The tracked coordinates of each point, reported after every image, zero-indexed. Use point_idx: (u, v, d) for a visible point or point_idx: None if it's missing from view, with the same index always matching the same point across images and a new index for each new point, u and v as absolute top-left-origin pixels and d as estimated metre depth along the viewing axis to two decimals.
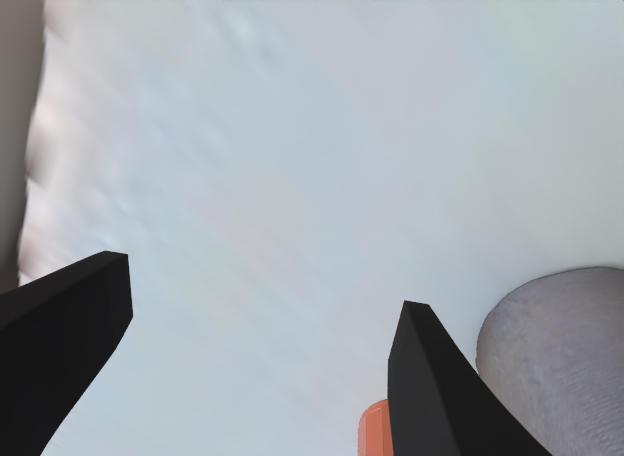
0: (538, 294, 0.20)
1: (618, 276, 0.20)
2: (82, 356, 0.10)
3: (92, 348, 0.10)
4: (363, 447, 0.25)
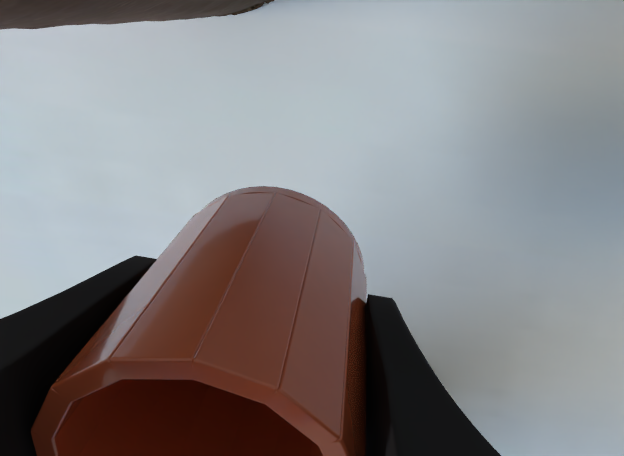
0: None
1: None
2: None
3: None
4: None
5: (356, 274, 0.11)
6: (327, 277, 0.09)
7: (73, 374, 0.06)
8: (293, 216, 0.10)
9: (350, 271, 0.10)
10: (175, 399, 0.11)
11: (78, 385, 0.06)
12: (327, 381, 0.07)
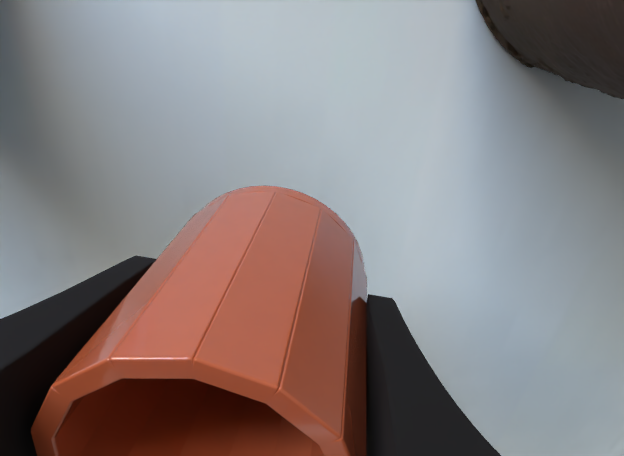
0: None
1: None
2: None
3: None
4: None
5: (356, 273, 0.11)
6: (327, 277, 0.09)
7: (73, 373, 0.06)
8: (293, 215, 0.10)
9: (350, 270, 0.10)
10: (175, 399, 0.11)
11: (78, 384, 0.06)
12: (328, 380, 0.07)
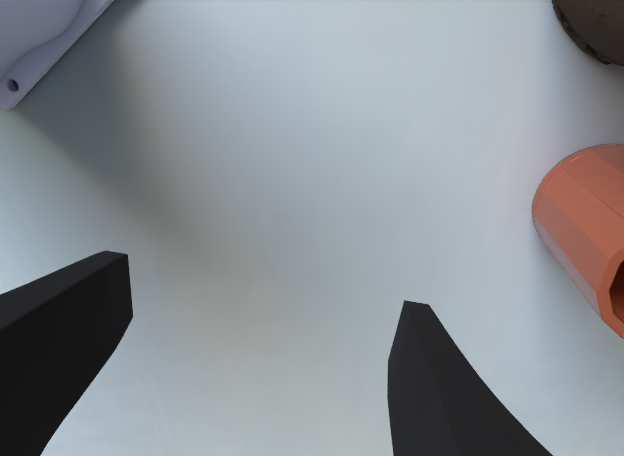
0: None
1: None
2: (82, 356, 0.10)
3: (92, 348, 0.10)
4: (551, 241, 0.18)
5: None
6: None
7: None
8: None
9: None
10: None
11: None
12: None
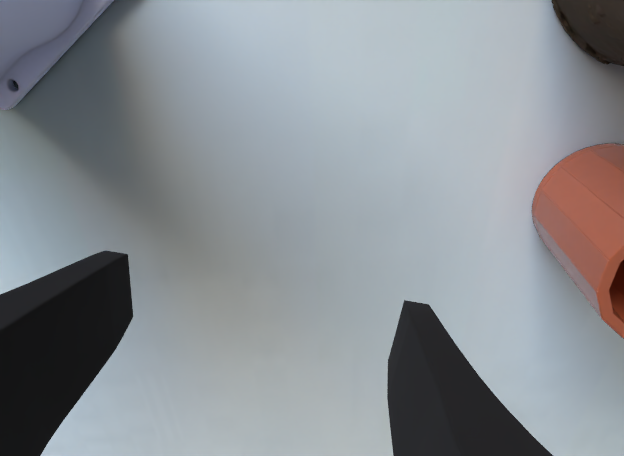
0: None
1: None
2: (82, 356, 0.10)
3: (92, 348, 0.10)
4: (551, 241, 0.18)
5: None
6: None
7: None
8: None
9: None
10: None
11: None
12: None
